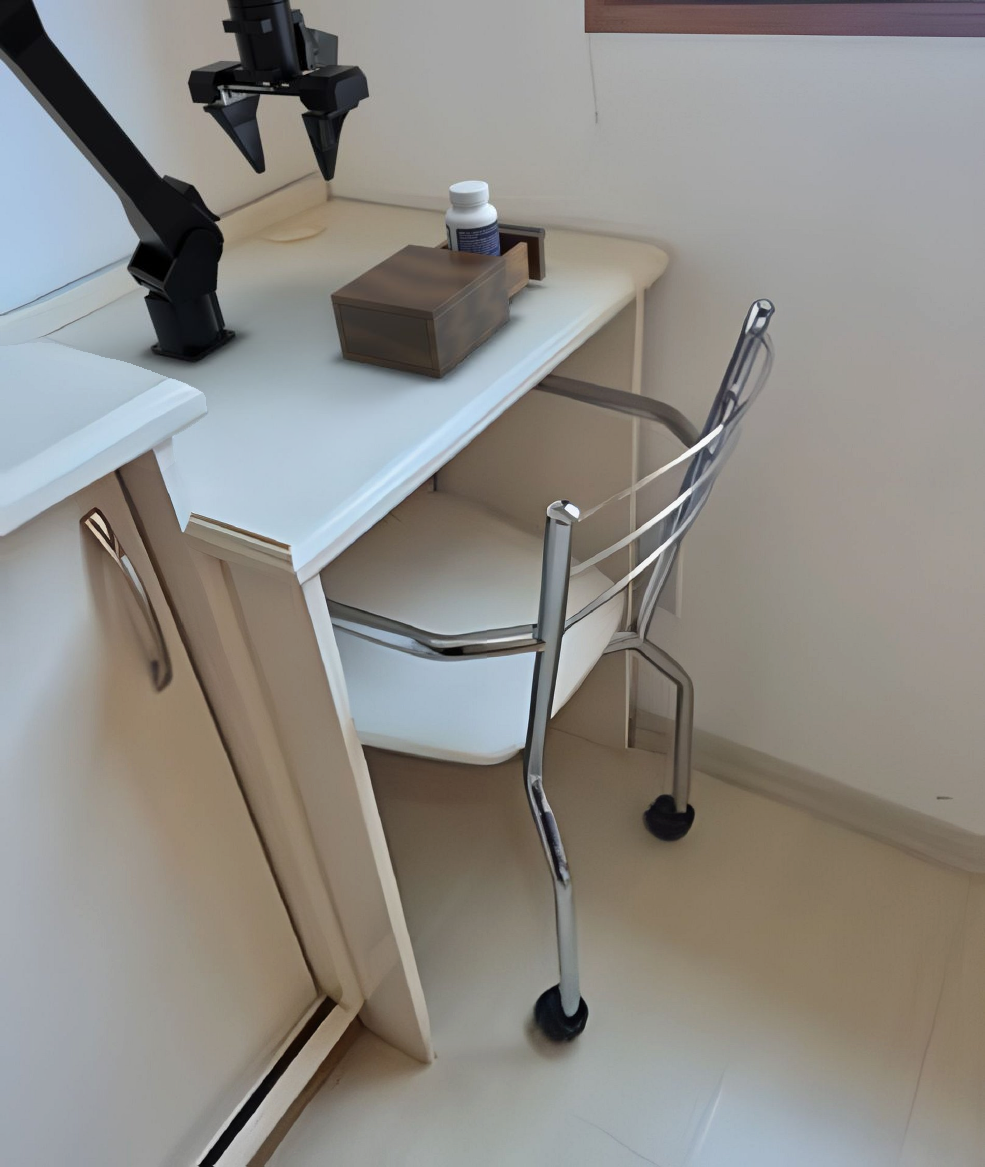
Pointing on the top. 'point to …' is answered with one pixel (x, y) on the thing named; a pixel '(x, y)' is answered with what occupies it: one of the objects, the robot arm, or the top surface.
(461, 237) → the pill bottle
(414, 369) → the cabinet
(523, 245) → the drawer
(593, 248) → the top surface
